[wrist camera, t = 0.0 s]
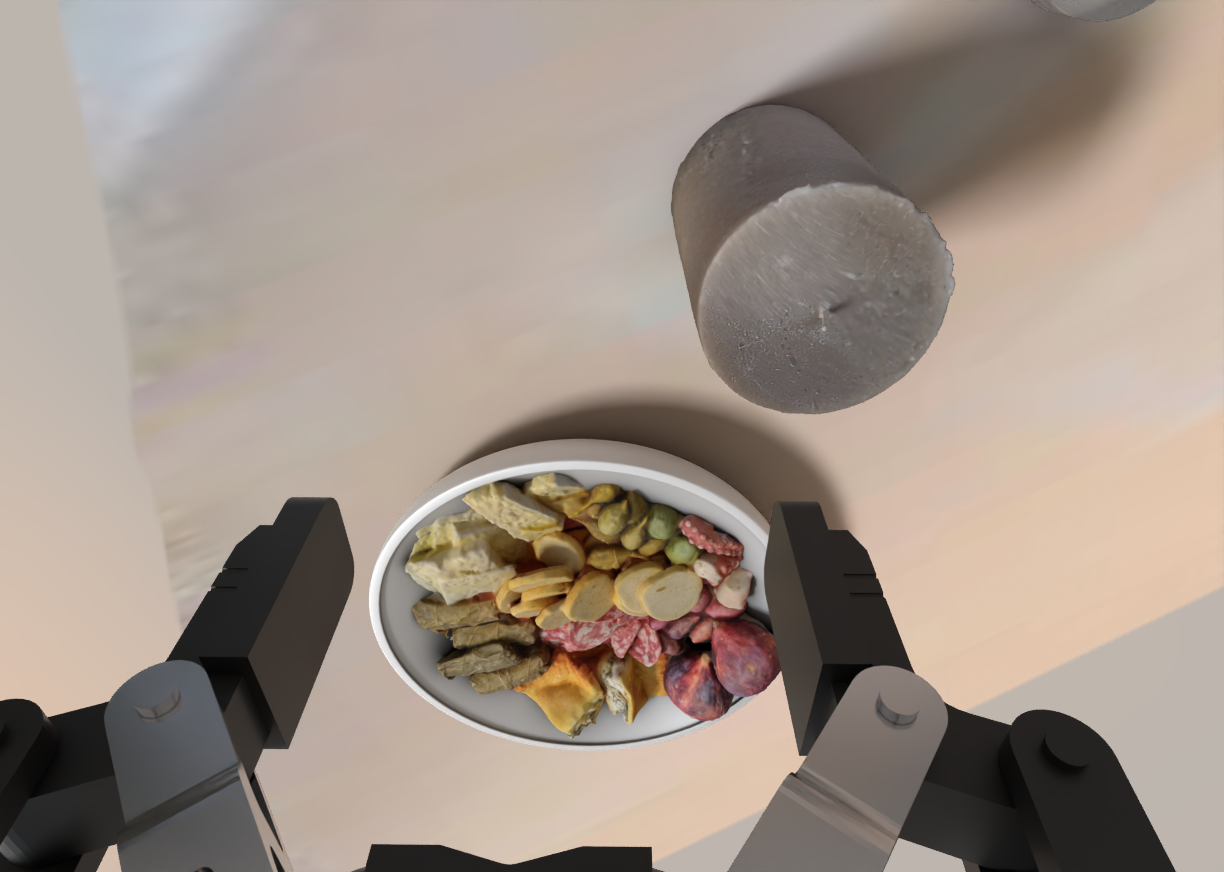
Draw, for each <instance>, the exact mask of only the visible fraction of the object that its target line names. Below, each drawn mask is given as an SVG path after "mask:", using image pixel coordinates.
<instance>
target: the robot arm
mask: <svg viewBox="0 0 1224 872" xmlns="http://www.w3.org/2000/svg"><path fill="white" fill-rule="evenodd" d="M222 569H223V571H222V573H221V572H220V573H219V574H218V576H217V578H216V579H215V581H214V583H213V584H212V586H211V591H208V592H207V594H206V596H205V597H204V599H203V601H202V602H201V604H200V606H199V607H198V609H197V611H196V612H195V614H194V616H193V617H192V619H191V621H190V622H189V624H188V625H187V627H186V629H185V630H184V632H183V634H182V635H181V637H180V639H179V641H178V642H177V644H176V645H175V647H174V649H173V650H172V652H171V654H170V655H169V657H168V658H167V660H166V661H165V662H163V663H159V664H156V665H154V666H151V667H149V668H147V669H145V670H143V671H141V672H139V673H138V674H136V675H135V676H133V677H131V678H130V679H129V680H128V681H126V682H125V683H124V684H123V685H122V686H121V687H120V688H119V689H118V690H117V691H116V692H115V694H114V695H113V696H112V698H111V699H110V701H108V702H105V703H102V704H98V705H94V706H90V707H86V708H82V709H79V710H75V711H71V712H67V713H63V714H59V715H55V716H51V717H47V716H46V715H45V714H44V712H43V711H42V710H41V709H40V707H39V706H38V705H37V704H36V703H34V702H32V701H30V700H25V699H8V700H3V701H0V872H96V871H97V869H98V867H99V865H100V863H101V861H102V858H103V857H104V855H105V853H106V851H107V849H108V846H111V845H115V844H117V849H118V855H119V860H120V865H121V870H122V872H294V870H293V868H292V865H291V863H290V860H289V858H288V855H287V852H286V850H285V847H284V844H283V842H282V839H281V836H280V834H279V831H278V828H277V826H276V823H275V820H274V818H273V815H272V812H271V810H270V807H269V804H268V802H267V799H266V796H265V794H264V791H263V788H262V786H261V783H260V780H259V778H258V775H257V773H256V771H255V767H256V765H257V762H258V760H259V758H260V755H261V753H262V750H263V749H288V748H289V746H290V743H291V741H292V738H293V736H294V733H295V731H296V728H297V726H298V723H299V721H300V718H301V715H302V713H303V710H304V708H305V705H306V703H307V700H308V698H309V695H310V693H311V690H312V688H313V685H314V683H315V680H316V678H317V675H318V673H319V670H320V668H321V665H322V663H323V660H324V657H325V655H326V652H327V650H328V647H329V645H330V642H331V640H332V637H333V635H334V632H335V630H336V627H337V625H338V622H339V620H340V617H341V615H342V612H343V610H344V607H345V605H346V602H347V599H348V597H349V594H350V592H351V589H352V585H353V578H354V561H353V555H352V552H351V548H350V545H349V541H348V538H347V534H346V530H345V527H344V523H343V520H342V516H341V513H340V509H339V506H338V503H337V501H336V500H335V499H334V498H319V497H292V498H290V499H288V500H287V501H286V503H285V504H284V506H283V508H282V510H281V511H280V513H279V515H278V517H277V518H276V520H275V522H274V524H273V525H259V526H258V527H257V528H256V529H255V530H253V531H252V532H251V533H250V534H249V535H248V536H246V537H245V538H244V539H243V540H242V541H241V542H239V543H238V544H237V545H236V546H235V548H234V550H233V551H232V553H231V554H230V556H229V558H228V559H227V561H226V563H225V564H224V566H223V568H222ZM764 587H765V595H766V600H767V605H768V610H769V614H770V619H771V624H772V629H773V633H774V638H775V643H776V648H777V652H778V657H779V662H780V667H781V671H782V676H783V681H784V686H785V690H786V695H787V700H788V705H789V709H790V714H791V719H792V724H793V728H794V733H795V738H796V743H797V747H798V752H799V756H807V757H806V759H805V760H804V762H803V764H802V765H801V767H800V768H799V770H798V771H797V772H796V773H795V774H794V773H793V772H792V773H790V774H789V775H788V776H787V777H786V778H785V780H784V781H783V782H782V784H781V785H780V787H779V789H778V790H777V792H776V793H775V795H774V797H773V798H772V800H771V802H770V803H769V805H768V806H767V808H766V810H765V811H764V813H763V815H762V816H761V818H760V819H759V821H758V823H757V824H756V826H755V828H754V830H753V831H752V832H751V834H750V836H749V838H748V839H747V841H746V842H745V844H744V846H743V847H742V849H741V850H740V852H739V854H738V855H737V857H736V859H735V860H734V862H733V863H732V865H731V867H730V868H729V870H728V871H727V872H883V871H884V868H885V866H886V864H887V862H888V860H889V857H890V855H891V853H892V851H893V848H894V846H895V844H896V842H897V840H898V838H901V839H904V840H907V841H910V842H913V843H916V844H919V845H922V846H925V847H928V848H931V849H934V850H936V851H939V852H942V853H945V854H948V855H951V856H954V857H957V858H960V859H962V861H963V864H964V867H965V871H966V872H1176V871H1175V869H1174V867H1173V865H1172V863H1171V861H1170V859H1169V857H1168V856H1167V854H1166V852H1165V850H1164V848H1163V846H1162V844H1161V842H1160V840H1159V838H1158V836H1157V834H1156V832H1155V830H1154V829H1153V827H1152V825H1151V823H1150V821H1149V819H1148V817H1147V815H1146V813H1145V811H1144V809H1143V807H1142V805H1141V804H1140V802H1139V800H1138V798H1137V796H1136V794H1135V792H1134V790H1133V788H1132V786H1131V784H1130V782H1129V780H1128V779H1127V777H1126V775H1125V773H1124V771H1123V769H1122V767H1121V765H1120V763H1119V761H1118V759H1117V757H1116V755H1115V754H1114V752H1113V751H1112V749H1111V748H1110V746H1109V745H1108V744H1107V743H1106V741H1105V740H1104V739H1103V738H1102V737H1101V736H1100V735H1099V734H1098V733H1096V732H1095V731H1094V730H1092V729H1091V728H1090V727H1088V726H1087V725H1085V724H1084V723H1082V722H1081V721H1079V720H1077V719H1075V718H1073V717H1071V716H1068V715H1066V714H1063V713H1060V712H1056V711H1051V710H1032V711H1028V712H1025V713H1023V714H1021V715H1020V716H1018V717H1017V718H1016V719H1015V720H1014V722H1013V723H1012V725H1008V724H1004V723H1001V722H998V721H994V720H990V719H987V718H984V717H980V716H976V715H973V714H970V713H967V712H964V711H961V710H958V709H956V708H954V707H952V706H950V705H948V704H947V703H945V702H943V700H942V698H941V696H940V695H939V694H938V692H937V691H936V690H935V689H934V688H933V687H932V686H931V685H930V684H929V683H928V682H927V681H925V680H924V679H923V678H921V677H919V676H918V675H916V674H915V673H914V670H913V668H912V666H911V664H910V661H909V658H908V656H907V653H906V651H905V648H904V645H903V643H902V640H901V638H900V635H899V632H898V630H897V627H896V625H895V622H894V619H893V617H892V614H891V612H890V609H889V606H888V604H887V601H886V599H885V598H884V597H883V591H882V588H881V585H880V583H879V580H878V579H876V572H875V570H874V567H873V565H872V562H871V559H870V557H869V554H868V552H867V550H866V549H865V548H864V547H863V546H862V545H861V544H860V543H859V542H858V541H857V540H856V539H855V537H854V536H853V535H852V534H851V533H850V532H849V531H848V530H828V528H827V525H826V522H825V519H824V516H823V513H822V510H821V507H820V505H819V503H818V502H776V503H775V505H774V508H773V513H772V519H771V525H770V531H769V537H768V543H767V550H766V556H765V562H764ZM352 872H663V871H660V870H657V869H654V868H652V847H593V846H582V847H578V848H575V849H571V850H567V851H563V852H559V853H556V854H552V855H548V856H544V857H540V858H537V859H533V860H529V861H525V862H521V863H518V864H512V865H507V864H502V863H498V862H495V861H492V860H488V859H485V858H482V857H478V856H475V855H472V854H468V853H465V852H462V851H459V850H455V849H452V848H449V847H445V846H442V845H392V844H372V845H371V849H370V852H369V856H368V860H367V864H366V867H364V868H360V869H357V870H354V871H352Z"/></svg>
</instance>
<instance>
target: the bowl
mask: <svg viewBox="0 0 1224 872" xmlns="http://www.w3.org/2000/svg"><path fill="white" fill-rule="evenodd" d="M769 531H770V525H769V524H768V522H767V521H766V520H765V518H764V517H763V516H762V515H761V514H760V512H759V511H758V510H757V509H756V508H755V507H754V506H753V505H752V504H751V503H750V502H749V501H748V500H747V499H746V498H745V497H744V496H742V495H741V494H740V493H739V492H738V491H736V490H735V489H734V488H732V487H731V486H730V485H729V484H727V483H726V482H724V481H723V480H721V479H720V478H718V477H717V476H715V475H714V474H712V473H710V472H708V471H707V470H705V469H703V468H701V467H699V466H697V465H695V464H693V463H691V462H689V461H686V460H684V459H682V458H679V457H677V456H674V455H671V454H668V453H666V452H663V451H659V450H656V449H652V448H649V447H644V446H640V445H636V444H630V443H625V442H618V441H610V440H598V439H561V440H550V441H542V442H535V443H530V444H525V445H520V446H516V447H512V448H508V449H505V450H502V451H499V452H495V453H492V454H490V455H487V456H485V457H482V458H480V459H477V460H475V461H473V462H471V463H468V464H466V465H464V466H462V467H461V468H459V469H457V470H455V471H453V472H452V473H450V474H449V475H447V476H445V477H444V478H442V479H441V480H439V481H438V482H437V483H435V484H434V485H433V486H431V487H430V488H429V489H428V490H426V491H425V492H424V493H423V494H422V495H421V496H420V497H418V498H417V499H416V500H415V501H414V502H413V503H412V504H411V505H410V507H409V508H408V509H407V510H406V511H405V512H404V514H403V515H402V516H401V517H400V518H399V520H398V521H397V523H396V524H395V526H394V527H393V529H392V530H391V532H390V534H389V535H388V537H387V539H386V541H385V543H384V545H383V547H382V549H381V552H380V554H379V556H378V559H377V562H376V565H375V568H374V570H373V574H372V578H371V583H370V590H369V610H370V617H371V622H372V626H373V630H374V633H375V635H376V638H377V641H378V643H379V645H380V647H381V649H382V651H383V653H384V655H385V656H386V658H387V659H388V661H389V663H390V664H391V665H392V667H393V668H394V669H395V671H396V672H397V673H398V674H399V675H400V677H401V678H402V679H403V680H404V681H405V682H406V683H407V684H408V685H409V686H410V687H411V688H412V689H413V690H414V691H416V692H417V693H418V694H419V695H420V696H421V697H423V698H424V699H425V700H427V701H428V702H429V703H431V704H432V705H434V706H435V707H436V708H438V709H440V710H441V711H443V712H444V713H446V714H448V715H450V716H451V717H453V718H455V719H457V720H459V721H461V722H463V723H465V724H467V725H469V726H472V727H474V728H476V729H479V730H481V731H484V732H487V733H489V734H492V735H495V736H498V737H502V738H505V739H509V740H512V741H516V742H520V743H525V744H530V745H535V746H541V747H548V748H555V749H566V750H590V751H593V750H616V749H627V748H634V747H641V746H647V745H652V744H657V743H661V742H665V741H669V740H673V739H676V738H679V737H682V736H685V735H688V734H691V733H694V732H696V731H699V730H701V729H704V728H706V727H708V726H710V725H712V724H715V723H717V722H718V721H720V720H722V719H724V718H726V717H727V716H729V715H731V714H733V713H734V712H736V711H737V710H739V709H740V708H742V707H743V706H744V705H746V704H747V703H748V702H750V701H751V700H752V699H753V698H754V697H756V696H757V695H758V694H759V693H760V692H762V691H764V690H765V689H766V688H767V686H769V685H770V683H771V682H772V681H773V680H774V679H775V678H776V676H777V675H778V674H779V672H780V671H781V667H780V662H779V657H778V652H777V648H776V643H775V638H774V633H773V629H772V624H771V619H770V614H769V610H768V605H767V600H766V595H765V587H764V562H765V556H766V550H767V543H768V537H769Z"/></svg>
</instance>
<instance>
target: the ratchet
mask: <svg viewBox="0 0 1224 872" xmlns="http://www.w3.org/2000/svg"><path fill="white" fill-rule="evenodd" d="M1032 1H1033V2H1034V3H1035V4H1036V5H1038V6H1039V7H1041V8H1043V9H1045V10H1047V11H1049V12H1053V13H1057V14H1061V15H1066V16H1070V17H1074V18H1078V19H1082V20H1087V21H1108V20H1113V19H1118V18H1121V17H1124V16H1127V15H1130V14H1132V13H1134V12H1137V11H1139V10H1141V9H1143V8H1144V7H1146V6H1148V5H1149V4H1151V3H1153V2H1154V1H1156V0H1032Z"/></svg>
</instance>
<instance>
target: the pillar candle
mask: <svg viewBox="0 0 1224 872" xmlns="http://www.w3.org/2000/svg"><path fill="white" fill-rule="evenodd" d="M671 212H672V216H673V222H674V228H675V235H676V239H677V243H678V249H679V254H680V258H681V261H682V265H683V270H684V274H685V279H686V284H687V289H688V292H689V297H690V302H691V307H692V311H693V315H694V319H695V323H696V327H697V330H698V334H699V337H700V341H701V344H702V347H703V350H704V353H705V355H706V357H707V359H708V362H709V364H710V366H711V368H712V369H713V370H714V371H715V372H716V373H717V374H718V376H719V377H720V378H721V379H722V380H723V381H724V382H725V383H726V384H727V385H728V386H729V387H730V388H731V389H732V390H733V391H734V392H736V393H738V395H740V396H742V397H744V398H745V399H747V400H749V401H750V402H752V403H755V404H757V405H760V406H763V407H766V408H770V409H773V410H777V411H780V412H783V413H804V414H821V413H828V412H833V411H837V410H841V409H845V408H848V407H851V406H854V405H857V404H859V403H862V402H864V401H866V400H868V399H871V398H873V397H874V396H876V395H878V394H879V393H881V392H883V391H885V390H886V389H887V388H889V387H890V386H892V385H893V384H894V383H896V382H897V381H899V380H900V379H901V378H902V377H904V376H905V375H906V374H907V373H908V372H909V371H910V370H911V368H913V366H914V365H915V364H916V363H917V362H918V361H919V360H920V358H921V357H922V356H923V355H924V354H925V353H926V351H927V349H928V348H929V346H930V344H931V343H932V341H933V340H934V338H935V337H936V335H937V333H938V331H939V329H940V327H941V325H942V322H943V319H944V316H945V313H946V310H947V306H948V302H949V298H950V296H951V295H952V292H953V291H954V287H955V281H954V278H953V276H952V271H953V265H954V264H953V260H952V259H953V258H952V255H951V252H950V251H949V250H947V249H946V241H945V240H943V239H942V238H941V236H940V234H939V232H938V231H937V230H936V228H935V226H934V224H933V223H932V221H931V218H930V217H929V216H928V213H927V212H925V213H924V212H921V211H920V210H919V209H918V208H917V207H916V206H915V205H914V203H913V202H912V201H910V200H909V199H908V198H906V197H905V196H904V195H903V194H902V193H901V192H900V191H899V190H898V189H897V188H896V187H895V186H894V185H893V184H891V183H890V182H889V181H888V180H887V179H886V178H885V177H884V176H883V175H882V174H881V173H880V172H879V171H878V170H877V169H876V168H875V167H874V166H872V165H871V164H870V163H869V162H868V161H867V160H866V159H865V158H864V157H863V156H862V155H861V154H860V153H859V152H858V151H857V150H856V149H855V148H854V147H853V146H852V145H850V144H849V143H848V142H847V141H846V140H845V139H844V138H843V137H842V136H840V135H839V134H838V133H837V132H836V131H835V130H834V129H833V128H832V127H831V126H830V125H829V124H828V123H826V122H825V121H824V120H822V119H820V118H819V117H817V116H815V115H812V114H810V113H809V112H807V111H805V110H802V109H799V108H795V107H789V106H784V105H762V106H755V107H750V108H745V109H742V110H740V111H738V112H737V113H735V114H733V115H729V116H726V117H725V118H723V119H721V120H720V121H719V122H717V123H716V124H715V125H713V126H712V127H711V128H710V129H709V130H707V131H706V132H705V133H704V134H703V135H702V136H701V137H700V139H699V140H698V141H697V142H696V143H695V145H694V146H693V147H692V149H691V150H690V152H689V153H688V155H687V156H686V158H685V160H684V161H683V162H682V163H681V164H680V167H679V169H678V173H677V176H676V178H675V182H674V185H673V190H672V203H671Z"/></svg>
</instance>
